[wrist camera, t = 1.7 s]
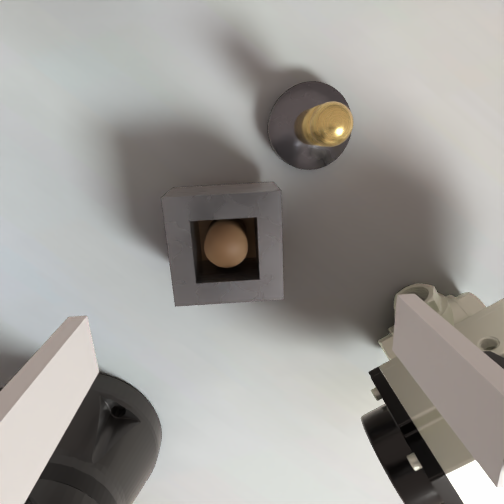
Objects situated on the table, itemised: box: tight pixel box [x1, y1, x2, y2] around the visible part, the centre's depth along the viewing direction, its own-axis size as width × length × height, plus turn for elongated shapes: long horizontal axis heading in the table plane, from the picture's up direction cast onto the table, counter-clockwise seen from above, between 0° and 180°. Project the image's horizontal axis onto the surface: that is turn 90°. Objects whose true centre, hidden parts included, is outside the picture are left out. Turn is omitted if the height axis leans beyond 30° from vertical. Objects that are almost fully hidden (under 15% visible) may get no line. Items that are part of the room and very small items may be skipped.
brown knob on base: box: [198, 217, 256, 268], centre depth 28 cm, size 6×6×6 cm
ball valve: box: [361, 283, 504, 504], centre depth 26 cm, size 18×8×18 cm, turn 123°
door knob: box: [268, 81, 353, 170], centre depth 24 cm, size 6×6×9 cm
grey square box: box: [161, 182, 284, 306], centre depth 27 cm, size 8×8×5 cm
